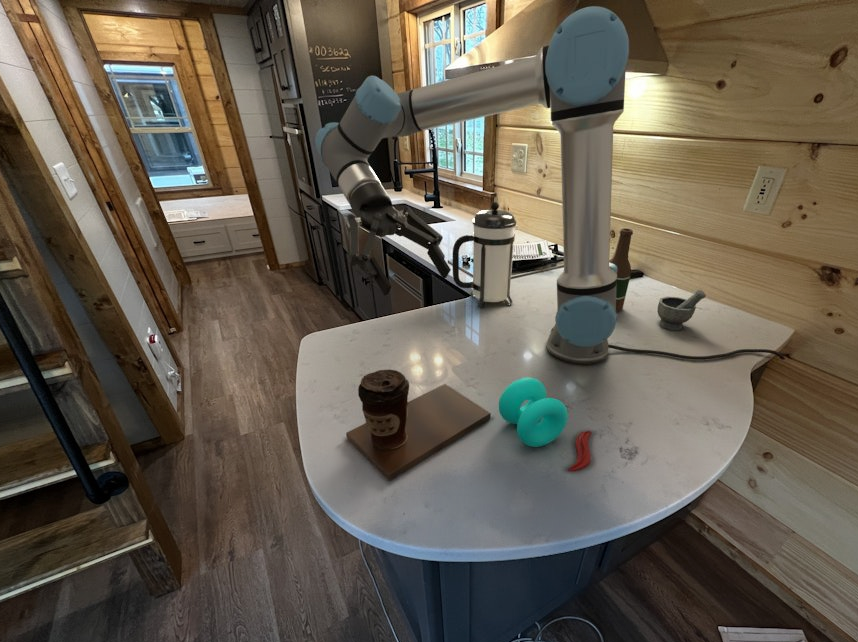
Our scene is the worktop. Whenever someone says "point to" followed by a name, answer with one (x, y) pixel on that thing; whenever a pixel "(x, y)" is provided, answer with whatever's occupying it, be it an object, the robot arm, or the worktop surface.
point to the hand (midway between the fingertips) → (419, 282)
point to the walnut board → (423, 430)
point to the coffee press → (489, 255)
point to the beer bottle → (622, 266)
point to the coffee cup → (385, 407)
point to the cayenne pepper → (582, 451)
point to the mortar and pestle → (677, 310)
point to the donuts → (533, 412)
